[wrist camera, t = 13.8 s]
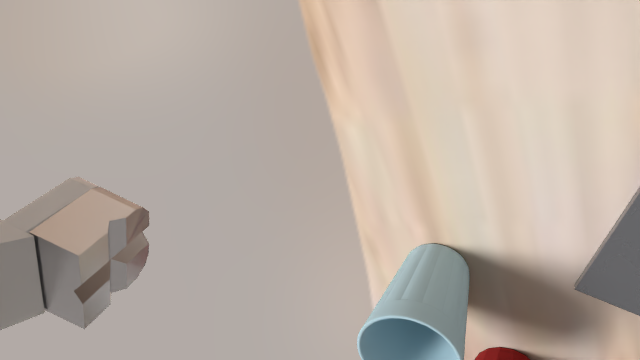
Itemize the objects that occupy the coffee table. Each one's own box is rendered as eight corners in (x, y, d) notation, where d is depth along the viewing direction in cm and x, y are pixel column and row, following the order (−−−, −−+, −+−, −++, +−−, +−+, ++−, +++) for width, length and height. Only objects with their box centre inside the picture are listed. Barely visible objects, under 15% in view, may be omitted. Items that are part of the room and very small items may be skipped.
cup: (498, 297, 46) (480, 394, 38) (417, 309, 50) (385, 399, 42) (462, 223, 44) (434, 309, 36) (380, 243, 48) (339, 324, 40)
